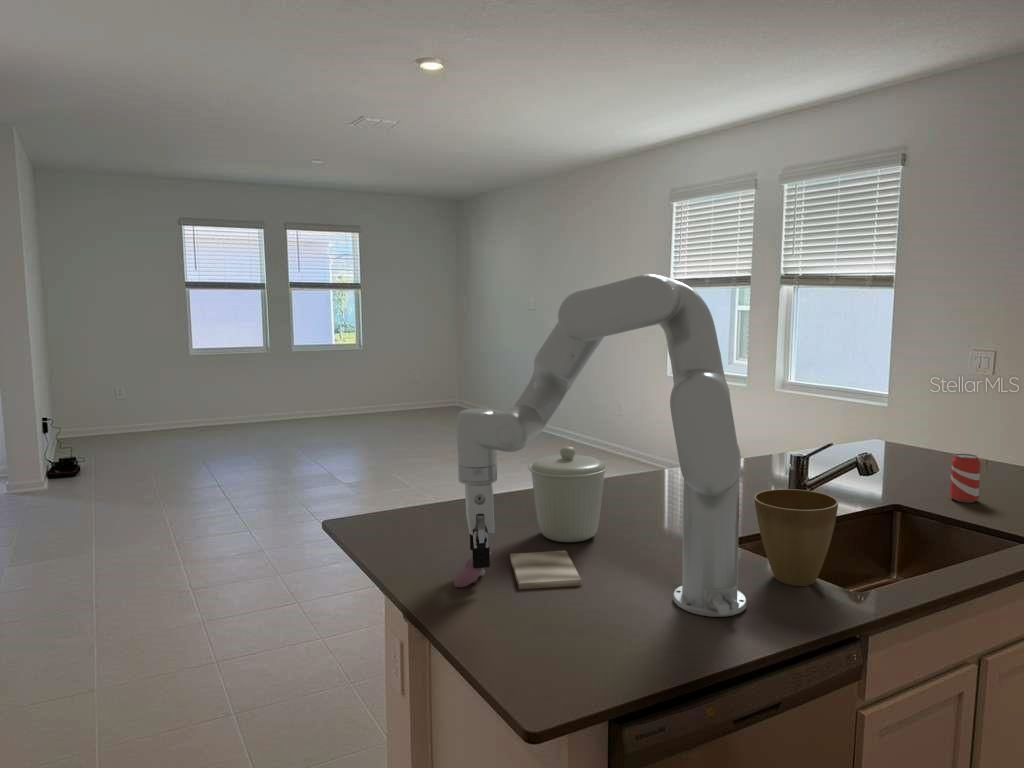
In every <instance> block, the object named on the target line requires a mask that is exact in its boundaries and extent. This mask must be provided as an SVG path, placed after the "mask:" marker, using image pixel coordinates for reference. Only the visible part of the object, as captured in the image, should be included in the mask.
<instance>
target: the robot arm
mask: <svg viewBox="0 0 1024 768" xmlns="http://www.w3.org/2000/svg"><path fill="white" fill-rule="evenodd" d="M557 313H558V314H557V323H556V324H555V325H554V327H553V329H552V330H551V332H550V334H549V335H548V337H547V338H546V340H545V341H544V342H543V344H542V346H541V347H540V348H539V350H538V352H536V354H535V357H534V360H533V371H532V375H531V377H530V380H529V381H528V383H527V384H526V387H525V388H524V390H523V392H522V393H521V395H520V396H519V397H518V399H517V401H516V402H515V404H514V405H513V407H512V408H509V409H507V410H506V411H502V412H499V413H494V411H493V410H491V409H488V408H481V407H480V408H477V407H476V408H467V409H462V410H461V411H459V412H458V414H457V416H456V417H457V418H456V437H457V438H456V439H457V440H456V441H457V442H456V443H457V469H458V470H457V474H458V481H457V482H458V483H461V484H462V485H464V498H465V515H466V521H467V527H468V532H469V549H470V550H471V551H472V555H473V568H484V569H486V568H487V569H488V568H490V567H491V556H490V552H491V551H490V550H491V549H490V545H489V534H491V535H494V534H495V532H496V530H495V529H496V528H495V513H494V512H495V509H494V508H495V507H494V490H493V483H495V482H497V481H498V461H497V459H498V455H497V453H498V452H497V451H500V452H506V453H515V452H518V451H520V450H522V449H523V448H525V447H527V446H528V445H529V444H530V443H531V442H533V441H534V440H535V439H537V437H538V436H540V434H541V433H542V432H543V430H544V429H545V427H546V426H547V424H548V423H549V421H550V420H551V418H552V417H553V415H554V414H555V412H556V411H557V409H558V408H559V406H560V405H561V403H562V401H563V400H564V398H565V397H566V396H567V393H568V392H569V391H570V389H572V386H573V384H574V382H575V381H576V380H577V378H578V377H579V376H580V373H581V372H582V370H583V369H584V367H585V366H586V365H587V363H588V361H589V359H590V358H591V357H592V355H593V354H594V352H595V351H596V349H597V348H598V347H599V345H600V344H601V342H602V341H603V339H604V338H605V337H608V336H609V337H610V336H614V335H619V334H623V333H626V332H630V331H634V330H639V329H643V328H648V327H652V326H656V325H659V326H660V327H661V328H662V329H663V332H664V335H665V338H666V343H667V351H668V355H669V360H670V365H671V373H672V380H673V386H672V389H671V391H670V396H669V407H670V408H669V409H670V415H671V422H672V426H673V431H674V432H673V433H674V439H675V445H676V452H677V457H678V463H679V467H680V472H681V475H682V478H683V489H682V490H683V492H682V493H683V496H682V497H683V500H682V501H683V502H682V508H683V509H682V513H683V514H682V571H681V572H682V573H681V574H682V575H681V576H682V578H681V579H682V583H681V584H682V585H680V586H678V587H677V588H675V590H673V595H672V596H673V598H672V599H673V601H674V604H676V605H677V606H678V607H679V608H680V609H682V610H684V611H686V612H687V613H688V612H689V613H691V614H695V615H699V616H704V617H712V618H721V617H722V618H723V617H724V618H725V617H730V616H732V617H733V616H735V615H738V614H741V613H743V612H744V610H745V609H746V608H747V602H748V601H747V598H746V596H745V594H743V593H742V592H741V591H740V590H738V588H739V586H738V585H739V584H738V582H739V577H738V576H739V538H740V537H739V531H740V530H739V528H740V527H739V526H740V524H739V523H740V522H739V521H740V487H741V486H740V483H741V481H740V479H741V470H742V465H741V464H742V461H741V460H742V459H741V458H742V457H741V450H740V447H739V444H738V438H737V434H736V427H735V420H734V419H735V418H734V413H733V408H732V403H731V402H732V401H731V393H730V388H729V385H728V383H727V380H726V376H725V370H724V366H723V361H722V355H721V350H720V345H719V341H718V335H717V331H716V326H715V322H714V319H713V315H712V313H711V311H710V309H709V307H708V305H707V303H706V302H705V300H704V299H703V297H702V296H700V294H699V293H698V292H697V291H695V290H694V289H693V288H692V287H690V286H689V285H687V284H685V283H683V282H681V281H679V280H675V279H673V278H670V277H667V276H663V275H659V274H654V273H648V274H647V273H645V274H640V275H637V276H632V277H629V278H626V279H622V280H618V281H615V282H609V283H607V284H603V285H599V286H594V287H591V288H586V289H581V290H578V291H575V292H572V293H570V294H568V296H566V297H565V298H564V300H562V301H561V304H560V306H559V308H558V312H557Z"/></svg>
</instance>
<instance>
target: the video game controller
mask: <svg viewBox="0 0 1024 768" xmlns="http://www.w3.org/2000/svg"><path fill="white" fill-rule="evenodd" d="M491 555H492V552H491V551H490V557H491ZM485 573H486V571H485V568H473V554H472V556H471V557H470V558H469V559H468V560H467V561H466V562H465V563H464V570H462V572H460V573H459V574H458V575H456V576H455V578H453V579H454V580H453V585H454V587H456V588H457V587H460V588H465V587H467V586H469V585H471V584H472V583H473V584H474V583H475V582H476V583H477V581H478V578H480V576H484V575H485ZM476 583H475V584H476Z"/></svg>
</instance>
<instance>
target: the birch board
mask: <svg viewBox="0 0 1024 768" xmlns="http://www.w3.org/2000/svg"><path fill="white" fill-rule="evenodd" d="M509 558H510V559H509V560H510V562H511V566H512V570H513V573H515V574H514V576H515V579H516V583H517V586H518V589H519V590H530V589H545V588H546V589H547V588H548V589H549V588H562V587H579V586H582V578H581V576H580V574H579V572H578V570H577V569H576V566H575V565H574V563H573V561H572V559H571V557H570V556H569V554H568V552H567V550H551V551H536V552H532V551H531V552H515V553H509Z"/></svg>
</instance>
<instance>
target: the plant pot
mask: <svg viewBox="0 0 1024 768" xmlns="http://www.w3.org/2000/svg"><path fill="white" fill-rule="evenodd" d="M753 499H754V505H755V511H756V517H757V524H758V527H759V529H758V530H759V533H760V537H761V541H762V543H763V544H762V545H763V548H764V552H765V554H766V557H767V561H768V563H769V566H770V569H771V572H772V574H773V578H774V579H775V580H776V581H778V582H780V583H782V584H785V585H789V586H796V587H805V586H810V585H813V584H815V583H816V581H817V579H818V576H819V574H820V572H821V570H822V568H823V565H824V564H825V563H824V562H825V560H826V557H827V555H828V551H829V548H830V544H831V541H832V537H833V533H834V530H835V525H836V520H837V514H838V509H839V508H838V507H839V500H838V499H837V497H836V498H835V497H834V496H831V495H829V494H826V493H824V492H823V493H822V492H820V491H819V492H818V491H813V490H806V489H798V488H796V489H795V488H794V489H793V488H792V489H790V488H780V489H779V488H777V489H769V490H768V489H767V490H762V491H760V492H757V493H756V494H754V498H753Z"/></svg>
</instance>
